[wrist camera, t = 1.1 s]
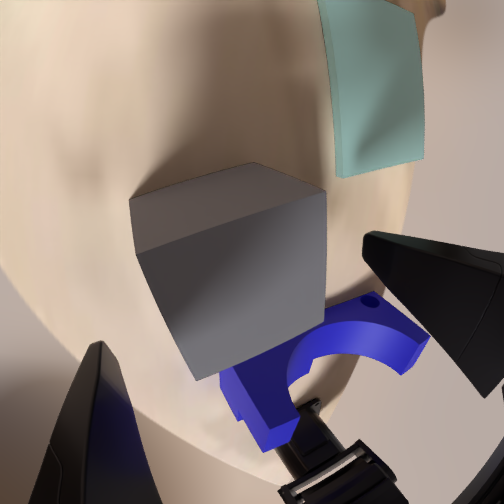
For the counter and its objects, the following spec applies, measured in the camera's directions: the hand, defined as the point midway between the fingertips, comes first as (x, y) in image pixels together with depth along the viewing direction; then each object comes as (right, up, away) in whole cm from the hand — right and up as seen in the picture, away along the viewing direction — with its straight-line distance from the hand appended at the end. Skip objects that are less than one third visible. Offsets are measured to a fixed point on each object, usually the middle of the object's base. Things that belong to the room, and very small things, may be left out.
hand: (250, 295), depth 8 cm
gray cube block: (-2, +2, +3) cm, 4 cm away
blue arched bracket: (+3, -4, +10) cm, 11 cm away
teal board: (+7, +10, +3) cm, 13 cm away
